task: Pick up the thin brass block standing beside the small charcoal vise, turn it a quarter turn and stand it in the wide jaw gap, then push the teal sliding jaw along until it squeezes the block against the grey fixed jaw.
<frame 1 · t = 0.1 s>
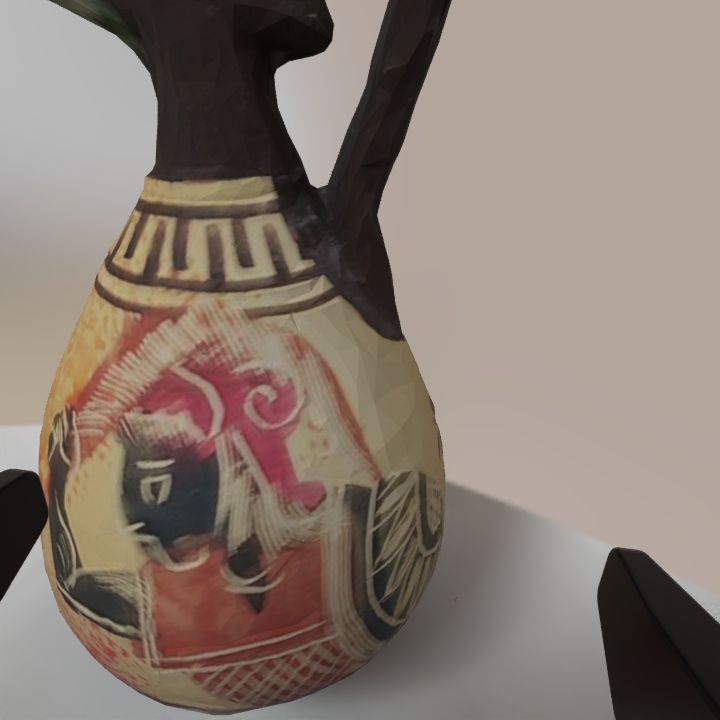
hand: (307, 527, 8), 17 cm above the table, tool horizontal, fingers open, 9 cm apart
ceramic jug: (280, 624, 26), on the table
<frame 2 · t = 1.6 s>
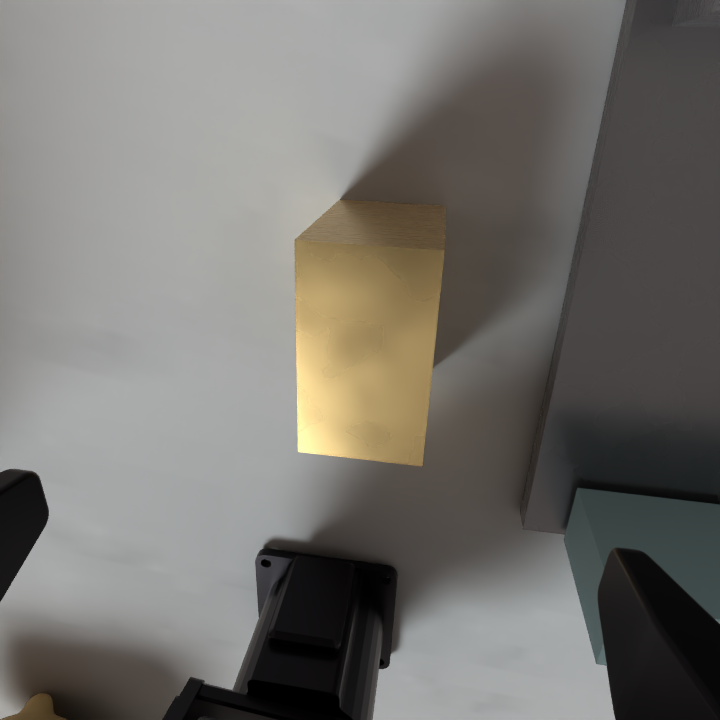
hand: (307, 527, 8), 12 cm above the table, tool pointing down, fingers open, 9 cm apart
brass block: (387, 289, 19), on the table
toy pig: (62, 717, 35), on the table
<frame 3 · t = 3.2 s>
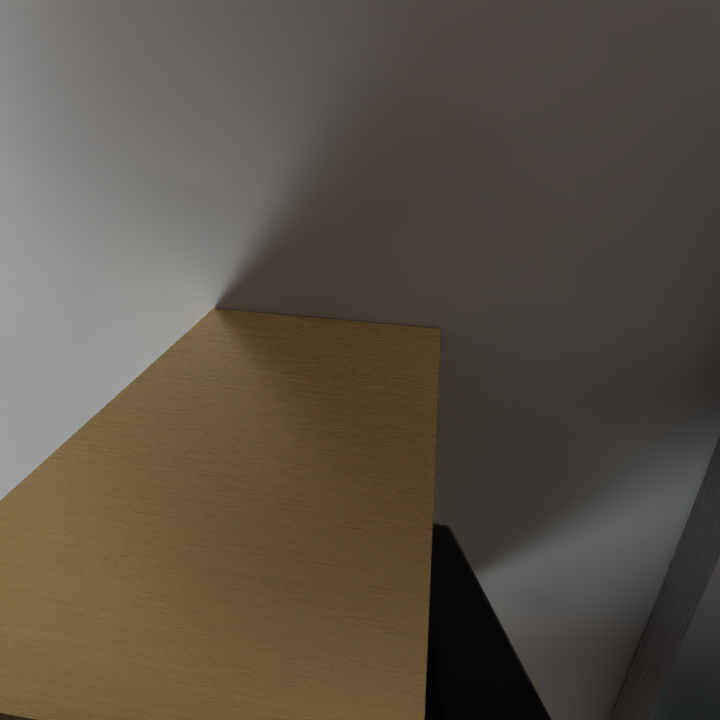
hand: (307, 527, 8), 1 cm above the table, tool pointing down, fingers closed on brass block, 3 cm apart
brass block: (323, 477, 10), on the table, touching gripper
when the fingers open (3 cm above the table, at t = 7.8 s): brass block stays where it is, resting on vise base.
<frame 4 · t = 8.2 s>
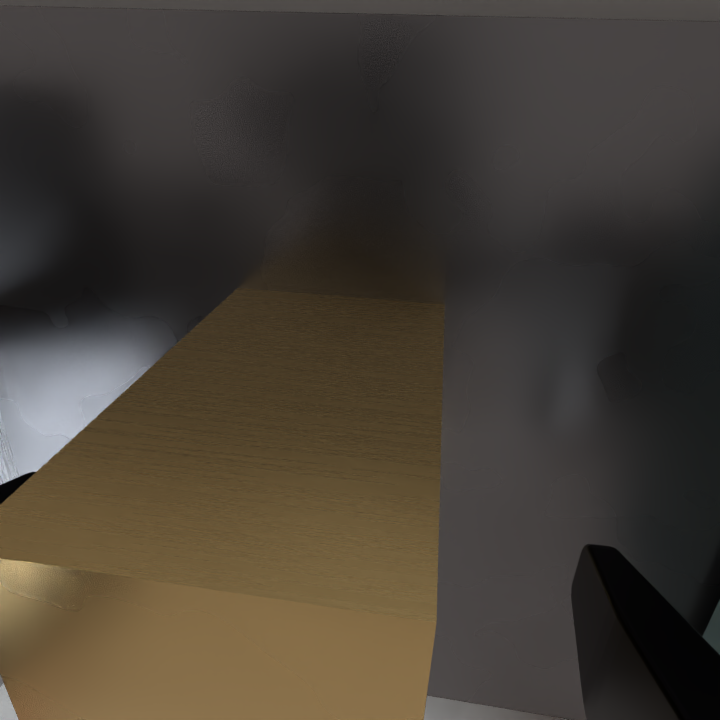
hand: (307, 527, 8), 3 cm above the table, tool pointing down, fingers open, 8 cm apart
vise base: (342, 417, 11), on the table
brass block: (336, 445, 10), point 1 cm above the table, touching vise base
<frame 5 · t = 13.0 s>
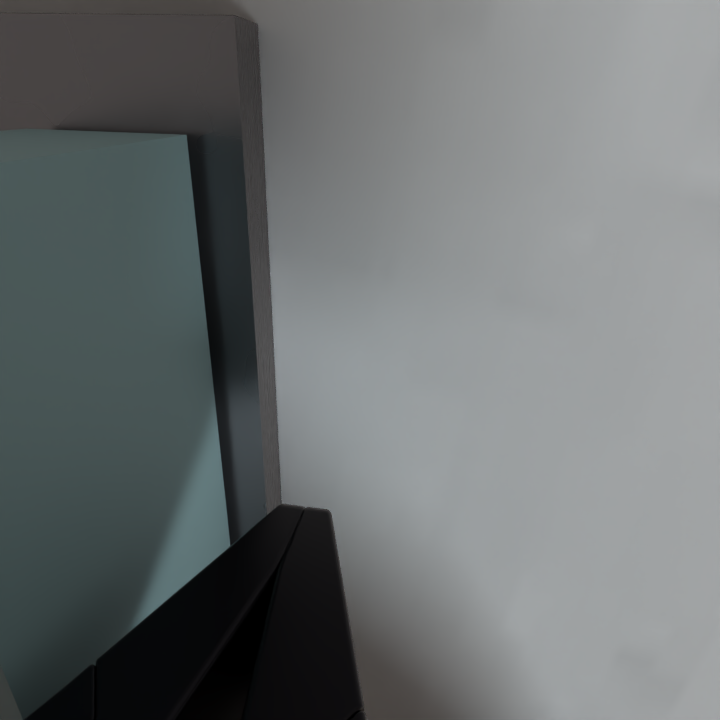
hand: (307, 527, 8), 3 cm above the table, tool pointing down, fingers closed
sliding jaw: (74, 542, 8), point 4 cm above the table, slide at 0.7 cm, touching gripper
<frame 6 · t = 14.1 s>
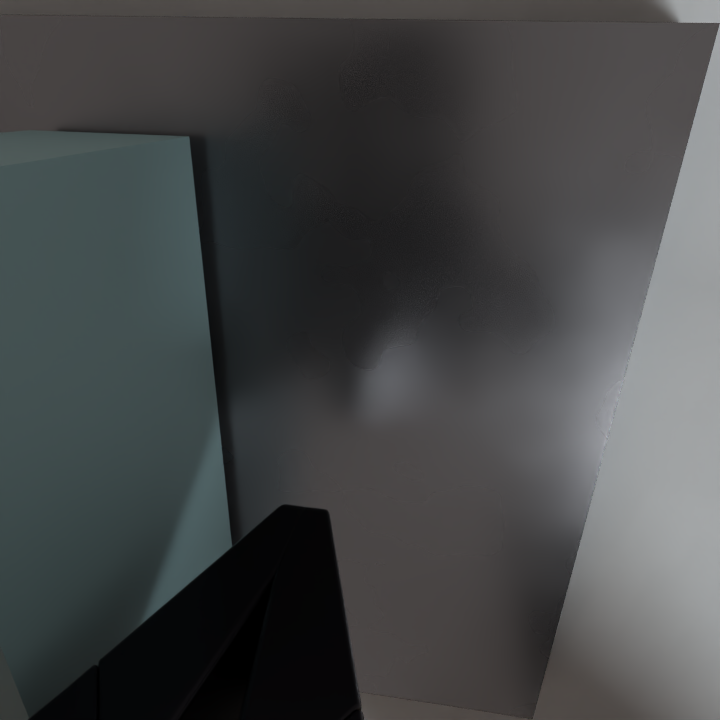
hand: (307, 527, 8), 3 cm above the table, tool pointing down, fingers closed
sliding jaw: (77, 543, 8), point 4 cm above the table, slide at 6.9 cm, touching gripper
vise base: (105, 400, 12), on the table
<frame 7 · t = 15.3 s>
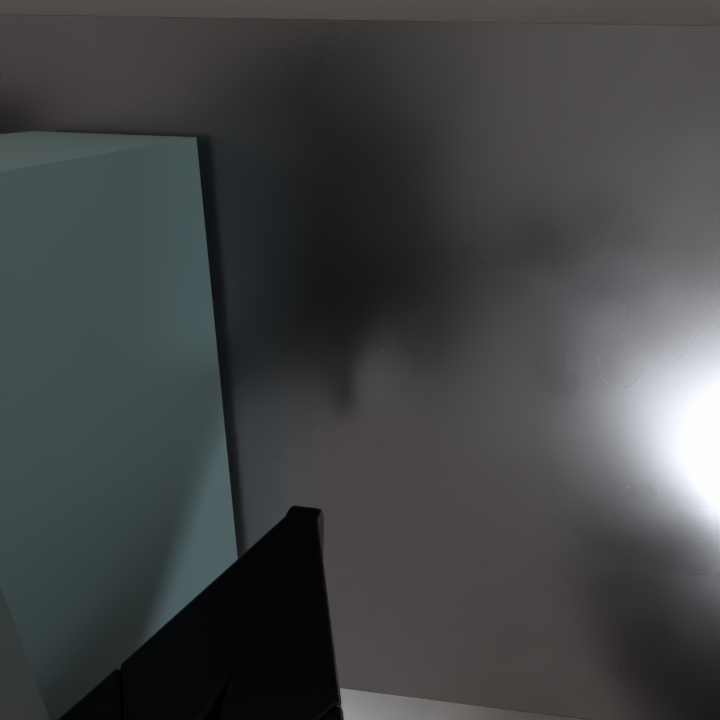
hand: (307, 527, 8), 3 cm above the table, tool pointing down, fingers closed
sliding jaw: (86, 547, 8), point 4 cm above the table, slide at 11.0 cm, touching brass block, gripper
vise base: (294, 420, 11), on the table
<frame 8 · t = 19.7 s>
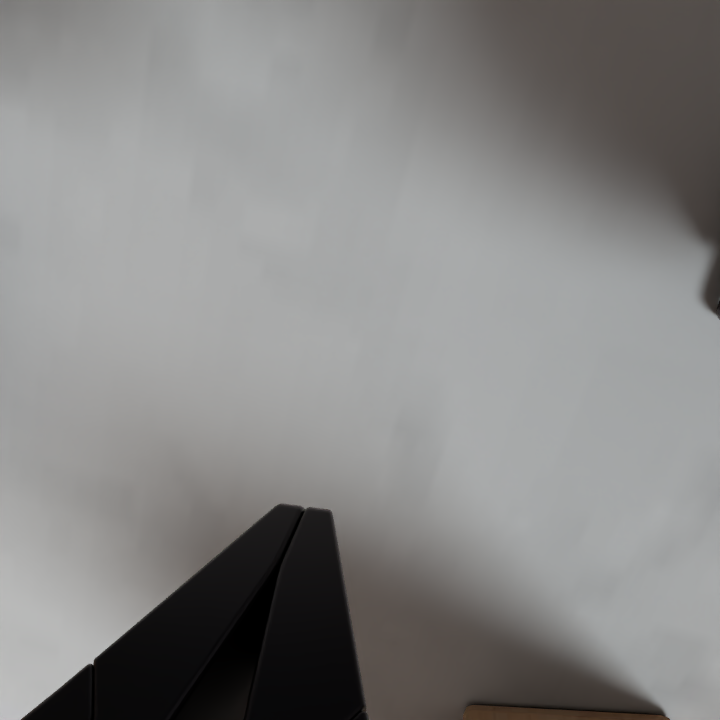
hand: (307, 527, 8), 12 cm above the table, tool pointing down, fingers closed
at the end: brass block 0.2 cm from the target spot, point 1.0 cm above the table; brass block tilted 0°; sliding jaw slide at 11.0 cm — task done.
